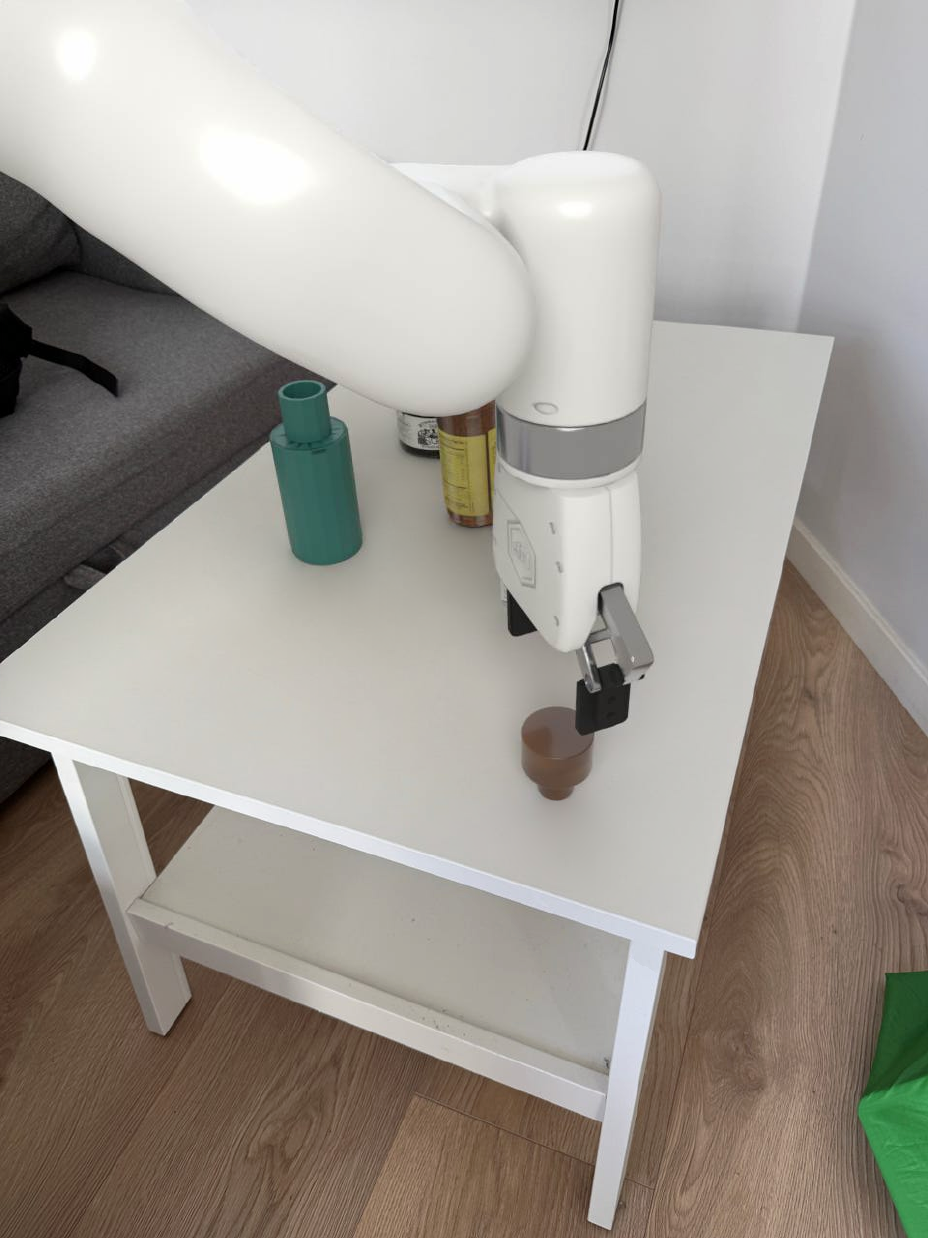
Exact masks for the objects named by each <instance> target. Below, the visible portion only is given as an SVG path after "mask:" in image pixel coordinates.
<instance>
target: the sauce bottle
mask: <svg viewBox="0 0 928 1238" xmlns="http://www.w3.org/2000/svg"><path fill="white" fill-rule="evenodd" d="M436 423H437V432H438V441H439V451H440V457H439V461H440V469H441V470H440V471H441V482H442V491H443V492H442V493H443V500H444V505H445V507H446V510H447V515H448V517H449V518H450V519H451V520H452V521H453V522H455V523H456V524H459V525H461V526H464V527H467V528H468V527H469V528H477V527H485V526H490V525H493V493H494V474H495V462H496V454H497V453H496V425H495V399H494V400H492V401H491V402H489V403H487V404H485V405H484V406H482V407H480V408H478V409H475V410H472V411H469V412H466V413H463V414H459V415H452V416H445V417H436Z"/></svg>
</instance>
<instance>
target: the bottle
mask: <svg viewBox="0 0 928 1238" xmlns="http://www.w3.org/2000/svg"><path fill="white" fill-rule="evenodd" d="M327 393H328V392H327V388H326V386H325V385H324V383H323V382H320V381H317V380H314V379H313V380H312V379H311V380H309V379H301V380H296V381H290V382H288V383H286V384H284V385H283V386H282V385H281V387H280V388H279V390H278V391H277V397H278V402H279V403H278V404H279V408H280V413H281V419H282V421H281V422H280V423H279V424H278V425H277V426H275V427H274V428H272V429H271V432H270V434H269V436H268V437H269V438H268V439H269V444H270V447H271V454H272V459H273V463H274V469H275V474H276V479H277V484H278V485H277V486H278V490H279V494H280V499H281V504H282V510H283V515H284V520H285V525H286V531H287V536H288V541H289V545H290V548H291V552H292V555H293V556H294V557H295V558H296V559H297V560H299V561H300V562H303V563H305V564H309V565H315V566H328V565H333V564H338V563H341V562H344V561H346V560H348V559H350V558H352V557H353V556H355V554H357V553H358V552H359V550H360V549H361V547H362V544H363V531H362V523H361V518H360V509H359V503H358V502H359V501H358V494H357V486H356V478H355V472H354V464H353V457H352V449H351V441H350V435H349V428H348V426H347V424H346V423H345V421H343V420H342V419H339V418H337V417H336V416H332V415H331V414H330V407H329V400H328V394H327Z"/></svg>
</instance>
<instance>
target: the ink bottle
mask: <svg viewBox="0 0 928 1238" xmlns="http://www.w3.org/2000/svg"><path fill="white" fill-rule="evenodd" d="M395 413H396V422H397V423H396V425H397V434H398V440H399V443H400V445H401V447H402V448H403V449H404V450H405V451H406V452H408V453H410V454H412V455H416V456H419V457H425V458H427V457H428V458H440V451H439V441H438V432H437V423H436V417H435V416H420V415H415V414H410V413H405V412H400V411H397V410H395Z"/></svg>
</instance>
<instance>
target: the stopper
mask: <svg viewBox="0 0 928 1238" xmlns="http://www.w3.org/2000/svg"><path fill="white" fill-rule="evenodd" d="M575 718H576V709H573V708H571V707H565V706H547V707H543V708H540V709H537V710H536V711H534V712H532V713H531V714H529V716H527V718H525V720H524V721H523V724H522V726H521V730H520V731H521V732H520V745H521V746H520V749H521V750H520V752H521V753H520V754H521V755H520V758H521V759H520V763H521V768H522V770H523V773H524V774H525V775H526V777H527V778H528V779H529V780H530V781H532V782H533V783H534V784H536V785H537V789H538V791H539V793H540V795H541V796H543V797H544V798H545V799H547V800H550V801H562V800H563V801H564V800H565V799H567V798H569V797H571V795H572V794H573V792H574V789H575V787H576V786H578V785H579V784H581V783H582V782H584V781H585V780H586V779H587V778H588V777H589V776H590V774H591V771H592V769H593V760H594V746H595V732H594V733H591V734H588V735H584V736H581V735H580V734H579V733H578V731H577V730H576V728H575Z"/></svg>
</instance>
